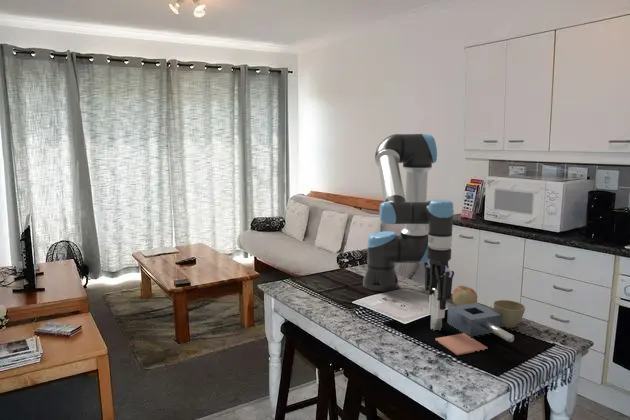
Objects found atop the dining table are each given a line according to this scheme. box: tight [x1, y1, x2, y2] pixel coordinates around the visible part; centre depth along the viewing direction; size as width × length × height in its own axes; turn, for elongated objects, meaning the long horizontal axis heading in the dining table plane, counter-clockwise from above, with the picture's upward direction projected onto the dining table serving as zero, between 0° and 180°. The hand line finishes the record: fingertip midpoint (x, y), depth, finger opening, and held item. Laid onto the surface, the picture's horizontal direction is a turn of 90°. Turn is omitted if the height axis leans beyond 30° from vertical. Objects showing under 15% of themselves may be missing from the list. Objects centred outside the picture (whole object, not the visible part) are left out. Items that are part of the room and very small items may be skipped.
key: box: [427, 286, 443, 331], centre depth 154 cm, size 4×7×14 cm, turn 111°
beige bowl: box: [493, 299, 526, 329], centre depth 158 cm, size 10×10×7 cm
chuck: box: [446, 302, 515, 343], centre depth 150 cm, size 23×12×6 cm, turn 21°
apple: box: [451, 285, 478, 306], centre depth 173 cm, size 9×9×8 cm
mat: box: [434, 332, 488, 356], centre depth 143 cm, size 11×11×1 cm
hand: (436, 315), depth 154 cm, fingers closed on key, 4 cm apart
